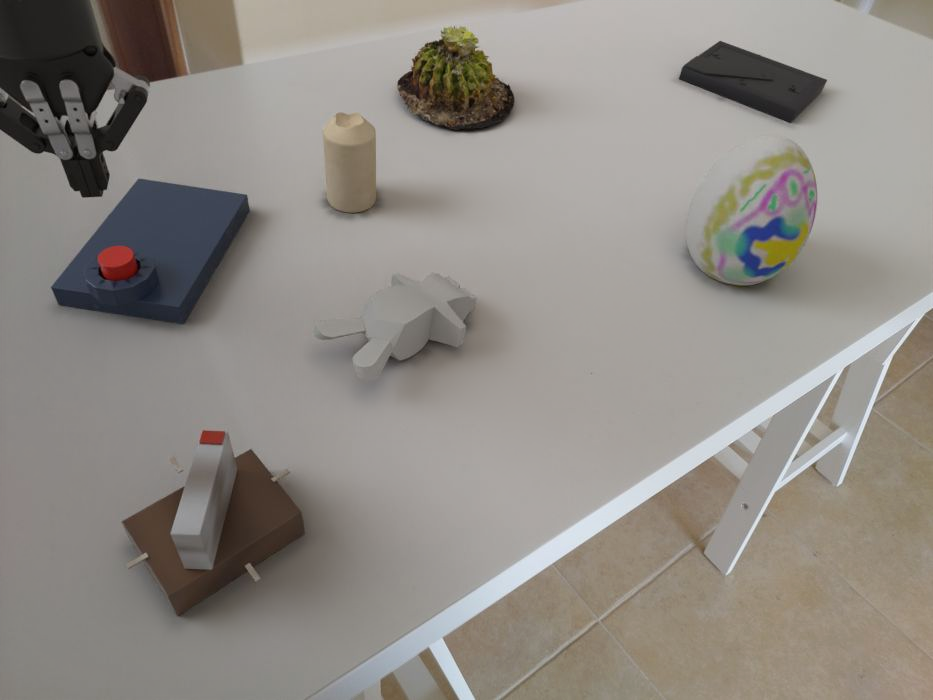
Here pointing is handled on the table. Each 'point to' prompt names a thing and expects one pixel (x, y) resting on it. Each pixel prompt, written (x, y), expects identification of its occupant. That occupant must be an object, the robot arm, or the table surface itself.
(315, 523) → the table surface
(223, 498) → the light grey narrow block
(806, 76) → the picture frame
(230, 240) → the button block
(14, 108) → the robot arm
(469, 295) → the bunny figurine
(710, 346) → the table surface
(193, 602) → the tap base
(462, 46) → the cactus
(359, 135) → the candle
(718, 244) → the decorative egg
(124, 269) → the button
